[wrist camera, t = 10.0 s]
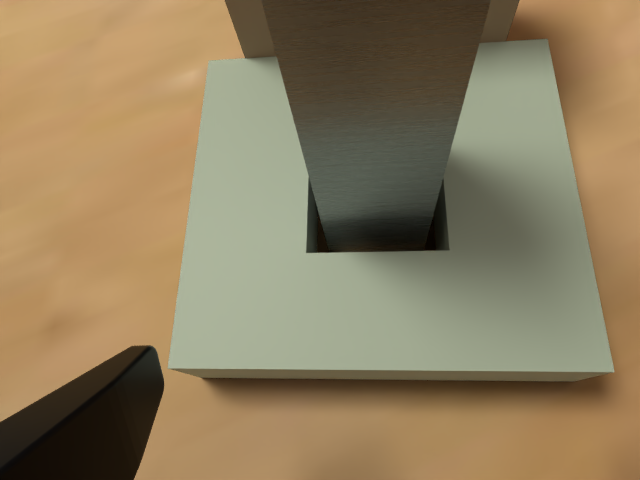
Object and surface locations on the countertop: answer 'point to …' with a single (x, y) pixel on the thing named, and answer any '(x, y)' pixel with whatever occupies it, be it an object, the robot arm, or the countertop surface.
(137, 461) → the robot arm
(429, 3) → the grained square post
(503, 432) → the countertop surface
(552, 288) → the square holed base
